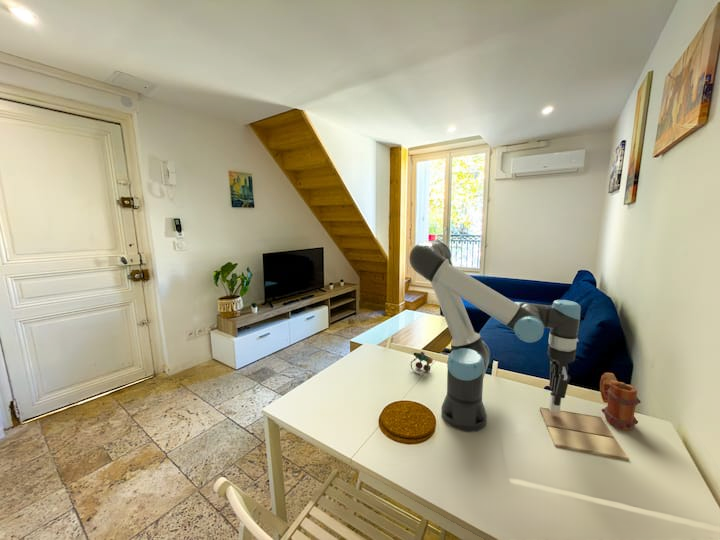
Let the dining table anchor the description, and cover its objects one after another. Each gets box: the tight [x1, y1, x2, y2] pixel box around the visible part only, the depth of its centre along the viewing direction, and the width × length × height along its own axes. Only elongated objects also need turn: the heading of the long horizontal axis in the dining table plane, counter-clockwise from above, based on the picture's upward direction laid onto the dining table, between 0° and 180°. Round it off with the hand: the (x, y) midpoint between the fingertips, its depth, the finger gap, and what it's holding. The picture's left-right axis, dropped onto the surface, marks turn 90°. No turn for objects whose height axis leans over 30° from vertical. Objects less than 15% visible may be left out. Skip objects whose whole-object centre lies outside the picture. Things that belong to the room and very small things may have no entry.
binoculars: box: [410, 351, 434, 375], centre depth 134 cm, size 9×9×10 cm
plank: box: [539, 406, 615, 438], centre depth 97 cm, size 18×9×2 cm, turn 71°
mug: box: [599, 372, 641, 431], centre depth 99 cm, size 15×8×15 cm, turn 168°
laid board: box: [546, 426, 630, 461], centre depth 89 cm, size 18×8×2 cm, turn 71°
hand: (554, 411), depth 100 cm, fingers closed
